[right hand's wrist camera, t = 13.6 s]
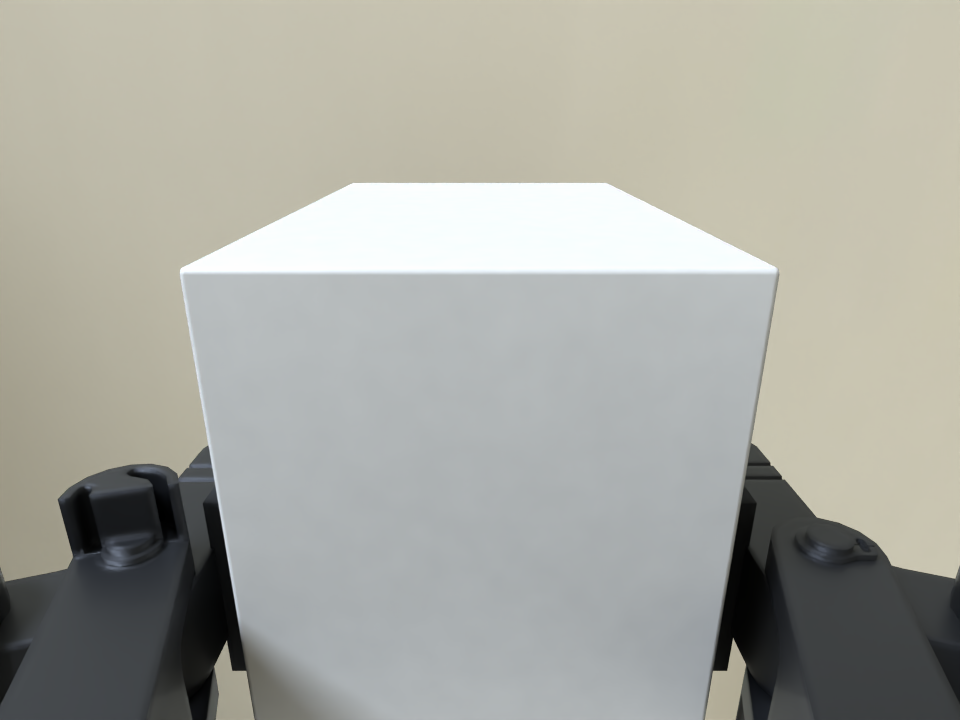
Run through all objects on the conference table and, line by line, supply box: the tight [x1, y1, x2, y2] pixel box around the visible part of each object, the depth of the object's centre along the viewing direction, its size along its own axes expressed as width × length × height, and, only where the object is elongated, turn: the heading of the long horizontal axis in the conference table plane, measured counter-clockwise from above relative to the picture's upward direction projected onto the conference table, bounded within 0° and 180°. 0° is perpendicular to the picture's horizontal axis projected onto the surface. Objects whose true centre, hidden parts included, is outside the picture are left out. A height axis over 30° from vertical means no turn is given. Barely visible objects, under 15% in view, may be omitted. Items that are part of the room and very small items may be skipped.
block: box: [180, 183, 779, 720], centre depth 11 cm, size 9×5×8 cm, turn 0°
